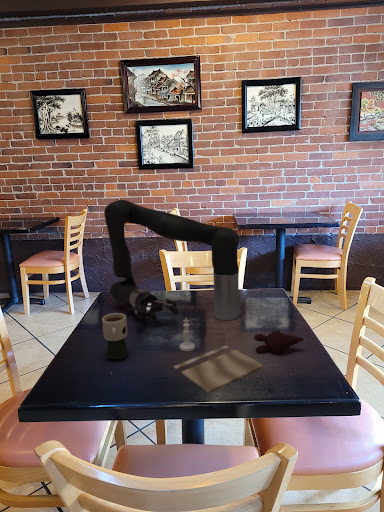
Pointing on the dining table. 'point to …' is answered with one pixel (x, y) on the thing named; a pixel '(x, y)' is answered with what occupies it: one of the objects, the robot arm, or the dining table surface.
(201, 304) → the dining table surface
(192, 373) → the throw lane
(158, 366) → the dining table surface
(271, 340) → the dark brown lumpy figurine
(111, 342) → the character mug
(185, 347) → the chess piece
